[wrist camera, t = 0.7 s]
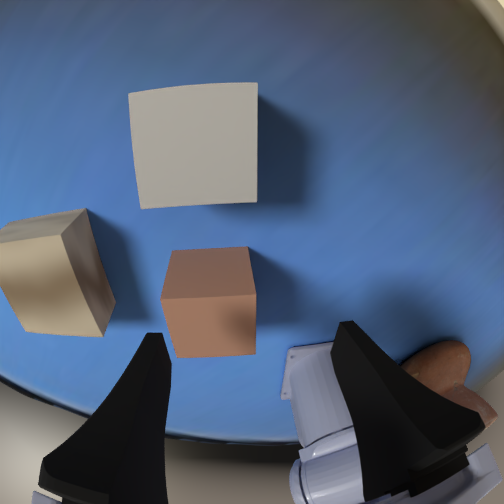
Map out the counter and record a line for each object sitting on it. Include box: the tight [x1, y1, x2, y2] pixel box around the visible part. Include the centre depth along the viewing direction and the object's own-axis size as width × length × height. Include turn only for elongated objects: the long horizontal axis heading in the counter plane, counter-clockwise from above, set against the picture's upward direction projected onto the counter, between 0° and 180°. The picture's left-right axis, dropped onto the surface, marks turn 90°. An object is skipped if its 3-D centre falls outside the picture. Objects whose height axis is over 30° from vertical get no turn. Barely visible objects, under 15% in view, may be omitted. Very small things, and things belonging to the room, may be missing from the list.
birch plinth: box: [0, 208, 116, 337], centre depth 16 cm, size 8×8×4 cm
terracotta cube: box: [160, 247, 256, 358], centre depth 18 cm, size 5×5×5 cm
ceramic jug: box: [400, 340, 498, 435], centre depth 25 cm, size 18×14×14 cm
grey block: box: [129, 83, 258, 209], centre depth 12 cm, size 5×5×5 cm
